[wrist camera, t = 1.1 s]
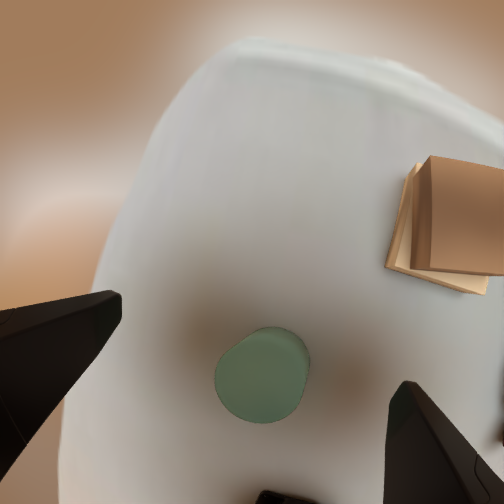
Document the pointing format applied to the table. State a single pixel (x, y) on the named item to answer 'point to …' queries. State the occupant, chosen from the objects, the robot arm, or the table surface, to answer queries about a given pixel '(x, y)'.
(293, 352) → the sage green cylinder
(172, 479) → the table surface
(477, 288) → the tower base
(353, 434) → the table surface
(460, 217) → the tower top
